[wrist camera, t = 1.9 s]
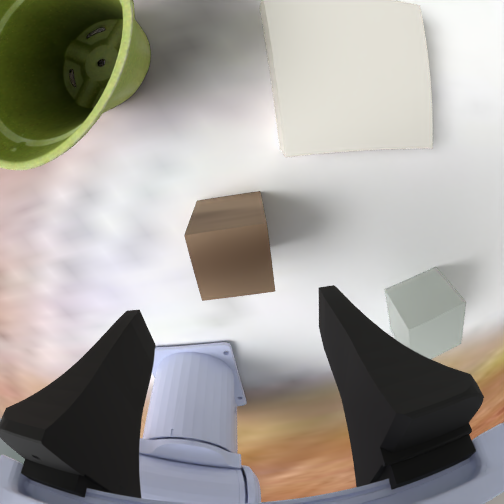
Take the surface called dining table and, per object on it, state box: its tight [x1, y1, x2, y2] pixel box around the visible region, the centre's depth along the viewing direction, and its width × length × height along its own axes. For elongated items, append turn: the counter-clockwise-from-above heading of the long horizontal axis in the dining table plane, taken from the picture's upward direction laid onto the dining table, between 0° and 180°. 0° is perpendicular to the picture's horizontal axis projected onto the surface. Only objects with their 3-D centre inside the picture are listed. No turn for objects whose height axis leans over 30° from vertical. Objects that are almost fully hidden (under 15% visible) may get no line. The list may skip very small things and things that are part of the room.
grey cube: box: [384, 267, 466, 359], centre depth 22 cm, size 5×5×5 cm
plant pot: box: [0, 0, 151, 170], centre depth 10 cm, size 9×9×9 cm
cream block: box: [260, 0, 433, 157], centre depth 14 cm, size 9×9×3 cm
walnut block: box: [184, 191, 275, 301], centre depth 18 cm, size 4×4×5 cm
